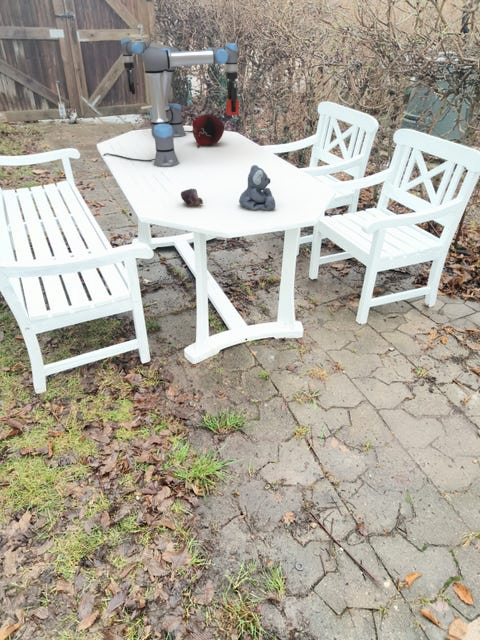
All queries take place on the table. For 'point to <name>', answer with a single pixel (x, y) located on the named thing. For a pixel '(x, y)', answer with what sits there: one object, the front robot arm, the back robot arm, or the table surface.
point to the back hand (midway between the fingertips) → (132, 92)
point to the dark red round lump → (207, 129)
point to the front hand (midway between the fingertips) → (232, 111)
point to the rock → (191, 197)
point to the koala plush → (257, 191)
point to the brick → (228, 108)
